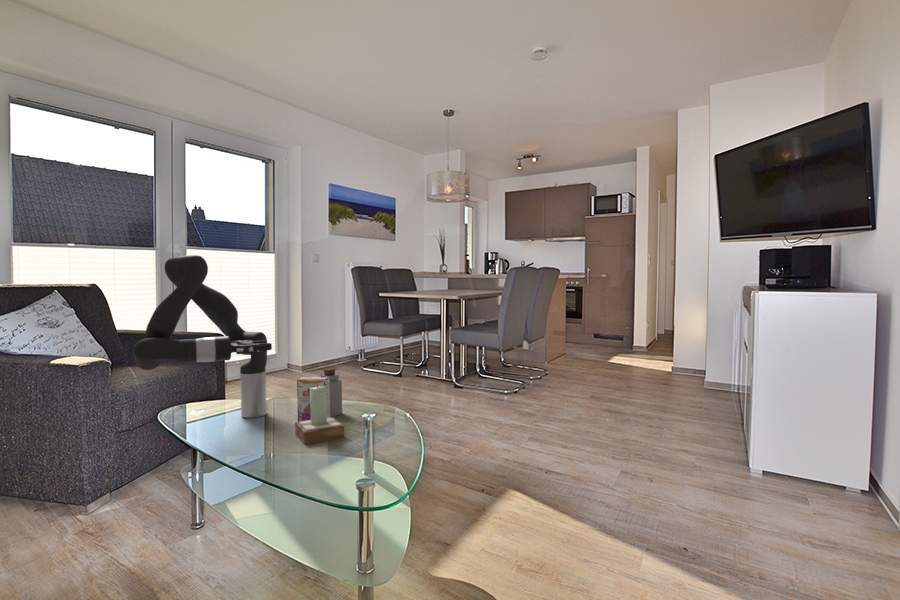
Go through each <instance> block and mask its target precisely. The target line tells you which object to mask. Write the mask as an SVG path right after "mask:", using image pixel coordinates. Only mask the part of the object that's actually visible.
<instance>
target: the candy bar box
mask: <svg viewBox="0 0 900 600" xmlns="http://www.w3.org/2000/svg"><path fill="white" fill-rule="evenodd" d="M317 385H318V386H324V387H326V414H327V417H330V378H327V377H321V376H320V377H317V376H316V377H315V376H302V377H299V378H298V379H296V389H297V390H296V391H297V395H296V396H297V397H296V398H297V422H300V421H307V420H311V412H310V388H312V387H317Z"/></svg>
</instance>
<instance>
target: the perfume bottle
mask: <svg viewBox="0 0 900 600" xmlns="http://www.w3.org/2000/svg"><path fill="white" fill-rule="evenodd" d="M323 372H324V374H320V375H319V376H320V377H327V378H330V417H331V416H333V417H335V416H336V417H337V416H339V415H338V414H341V413H342V414H343V387H342V385H343V383H342V382H343V381H342V380H341V379H339V377H340V374H337V373H336V369H335V368H330V367H329V368H325V369H323ZM342 414H341V415H342Z"/></svg>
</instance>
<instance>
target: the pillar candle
mask: <svg viewBox="0 0 900 600" xmlns="http://www.w3.org/2000/svg"><path fill="white" fill-rule="evenodd" d="M310 412H311V425H322V424H325V423H327V414H326V387H324V386H318V385H317V387H312V388H310Z"/></svg>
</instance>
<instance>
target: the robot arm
mask: <svg viewBox="0 0 900 600" xmlns="http://www.w3.org/2000/svg"><path fill="white" fill-rule="evenodd" d="M208 266H209V265H208V263H207V261H206V260H205V258H204V257H203V256H201V255H198V254H189V255H188V254H187V255H181V256H174V257H173V256H172V257H171V258H168V259H167V260H166V261H165V263H164V272H165V274H166V277H167V278H168V279H169V281H170V282H171V283H172V284H173V285H175V289H174V290H173V291H172V292H171V293H170V294H168V296H167V297H165V298H164V299H163V300H162V301H161V302H160V303H159V304H158V306H157V307H156V308H155V310H154V311H153V313H152V315H151V318H150V319H149V321H148V323H147V325H146V328H145V335H144V336H145V337H144V338H143V339H140V340H138V341H137V342H136V343H135V344H134V345H133V349H132V352H133V356H134V361H135V364H136V365H137V367H138V368H140V369H142V370H145V371H151V370H154V369H156V368H158V367H159V366H160V365H161V364H162V363H163V362H164V360H170V361H171V360H172V361H174V363H176V364H190V363H191V364H192V363H210V362H211V363H212V362H222V361H230V360H231V358H232V353H236V355H243V356H250V360H249V362H247V363H243V364H242V365H241V366H240V368H239V370H240V371H239V373H240V375H239V376H240V377H239V378H240V401H241V402H240V412H241V417H242V418H244V417H245V418H244V419H249V418H250V419H253V418H260V417H262V416H263V417H264V416H265V415H266V414H267V381H266V379H267V378H266V367H267V361H268V351H272V347H273V345H272V343H271V342H268V340H267V339H268V338H267V336H266V334H265V333H264V332H260V331H246V330H245V329H243V328H242V327H241V325H240V324H238V319H239V318H238V317H239V313H238V309H237V307H236V306H235V305H234V303H233V302H232V301H231V300H230V299H229V297H227V296H226V295H225V294H223V293H222V292H220V291H218V290H216V289H214V288H212V287H209V286H208V285H206V284H205V283H204V281H205V279H206V278H207V275H208V273H209V268H208ZM191 300H192V302H193V303H194V304H195V305H196V306H197V307H198V308H199V309H200V310H201V311H202V312H203V313H204V314H205V315H206V317H207V318H208V319H209V320H210V321H212V323H213V324H214V325H215V326H216V327H217V328H218V329H219V330H220V332H222V334H223V335H224V336H210V337H206V336H205V337H200V338H190V339H189V338H188V339H174V338H172V336H173V334H174V333H175V329H176V327H177V326H178V323H179V322H180V319H181V317H182V315H183V313H184V311H185V310H186V308H187V306H188V304H189V303H190V301H191Z"/></svg>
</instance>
